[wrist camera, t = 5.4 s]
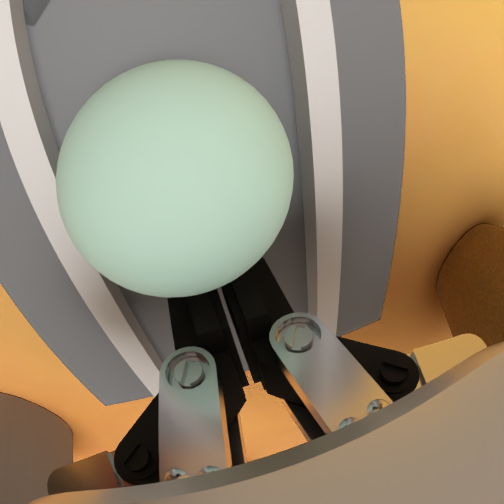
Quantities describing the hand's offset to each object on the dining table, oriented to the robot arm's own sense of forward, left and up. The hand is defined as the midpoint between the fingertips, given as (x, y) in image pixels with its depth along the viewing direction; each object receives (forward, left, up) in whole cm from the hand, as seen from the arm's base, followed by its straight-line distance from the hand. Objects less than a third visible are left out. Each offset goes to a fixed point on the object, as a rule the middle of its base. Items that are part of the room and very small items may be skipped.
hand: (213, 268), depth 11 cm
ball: (0, -4, +2) cm, 5 cm away
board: (0, -7, -3) cm, 7 cm away
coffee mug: (+21, +14, -3) cm, 25 cm away
